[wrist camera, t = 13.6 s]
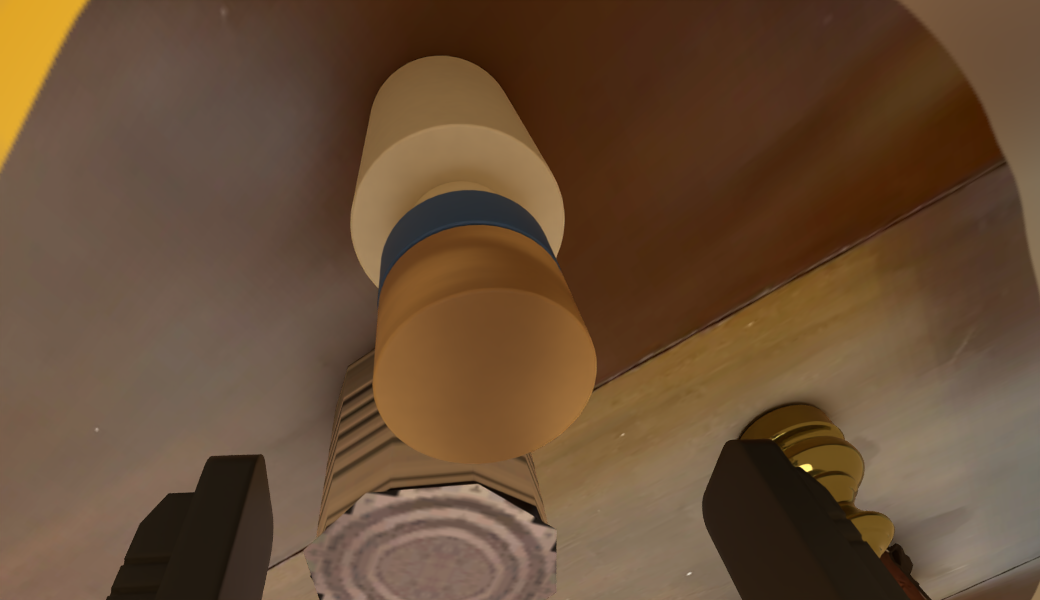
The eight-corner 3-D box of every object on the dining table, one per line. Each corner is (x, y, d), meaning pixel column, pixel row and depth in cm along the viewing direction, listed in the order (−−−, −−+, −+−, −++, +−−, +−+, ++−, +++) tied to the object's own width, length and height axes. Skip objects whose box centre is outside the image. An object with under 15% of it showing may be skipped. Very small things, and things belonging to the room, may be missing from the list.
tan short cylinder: (378, 383, 16) (373, 469, 13) (377, 218, 13) (370, 285, 11) (552, 382, 17) (577, 461, 14) (581, 227, 14) (618, 291, 12)
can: (450, 489, 41) (464, 670, 31) (298, 429, 36) (255, 622, 26) (555, 380, 37) (610, 546, 27) (401, 295, 32) (398, 461, 22)
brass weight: (730, 483, 46) (802, 607, 37) (735, 414, 42) (817, 536, 33) (821, 461, 46) (912, 579, 38) (834, 391, 42) (940, 506, 34)
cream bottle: (370, 195, 29) (340, 410, 16) (368, 47, 26) (328, 170, 13) (506, 202, 30) (579, 406, 17) (522, 62, 27) (628, 188, 14)
